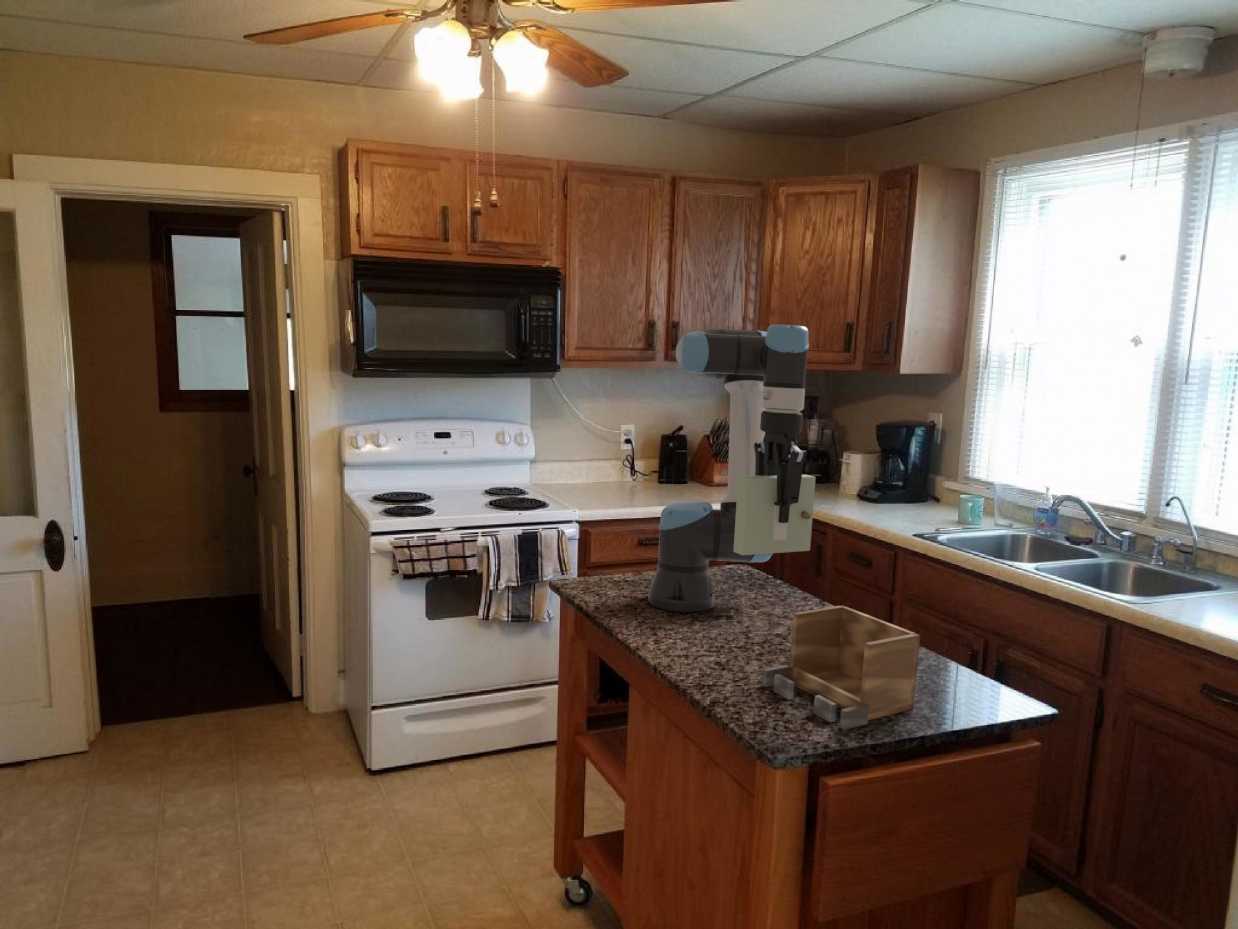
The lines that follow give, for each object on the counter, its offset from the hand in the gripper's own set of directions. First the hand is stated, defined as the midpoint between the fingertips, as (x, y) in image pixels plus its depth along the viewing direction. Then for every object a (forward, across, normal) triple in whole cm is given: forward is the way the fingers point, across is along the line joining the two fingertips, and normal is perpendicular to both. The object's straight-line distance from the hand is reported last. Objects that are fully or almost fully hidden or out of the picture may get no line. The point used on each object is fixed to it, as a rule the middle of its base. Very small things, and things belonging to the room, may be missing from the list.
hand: (773, 537), depth 165 cm
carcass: (+25, +17, +4) cm, 30 cm away
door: (+3, 0, 0) cm, 3 cm away
